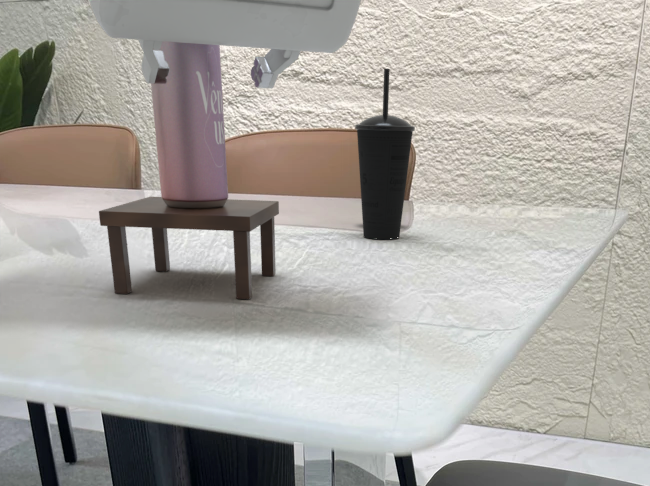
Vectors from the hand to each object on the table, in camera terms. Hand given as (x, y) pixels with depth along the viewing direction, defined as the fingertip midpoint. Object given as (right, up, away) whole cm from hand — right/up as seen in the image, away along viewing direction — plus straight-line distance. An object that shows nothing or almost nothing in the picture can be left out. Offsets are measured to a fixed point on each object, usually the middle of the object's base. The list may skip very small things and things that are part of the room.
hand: (209, 80), depth 63 cm
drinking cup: (+15, 0, +41) cm, 44 cm away
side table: (-3, -14, +11) cm, 18 cm away
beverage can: (-3, -8, +8) cm, 11 cm away
